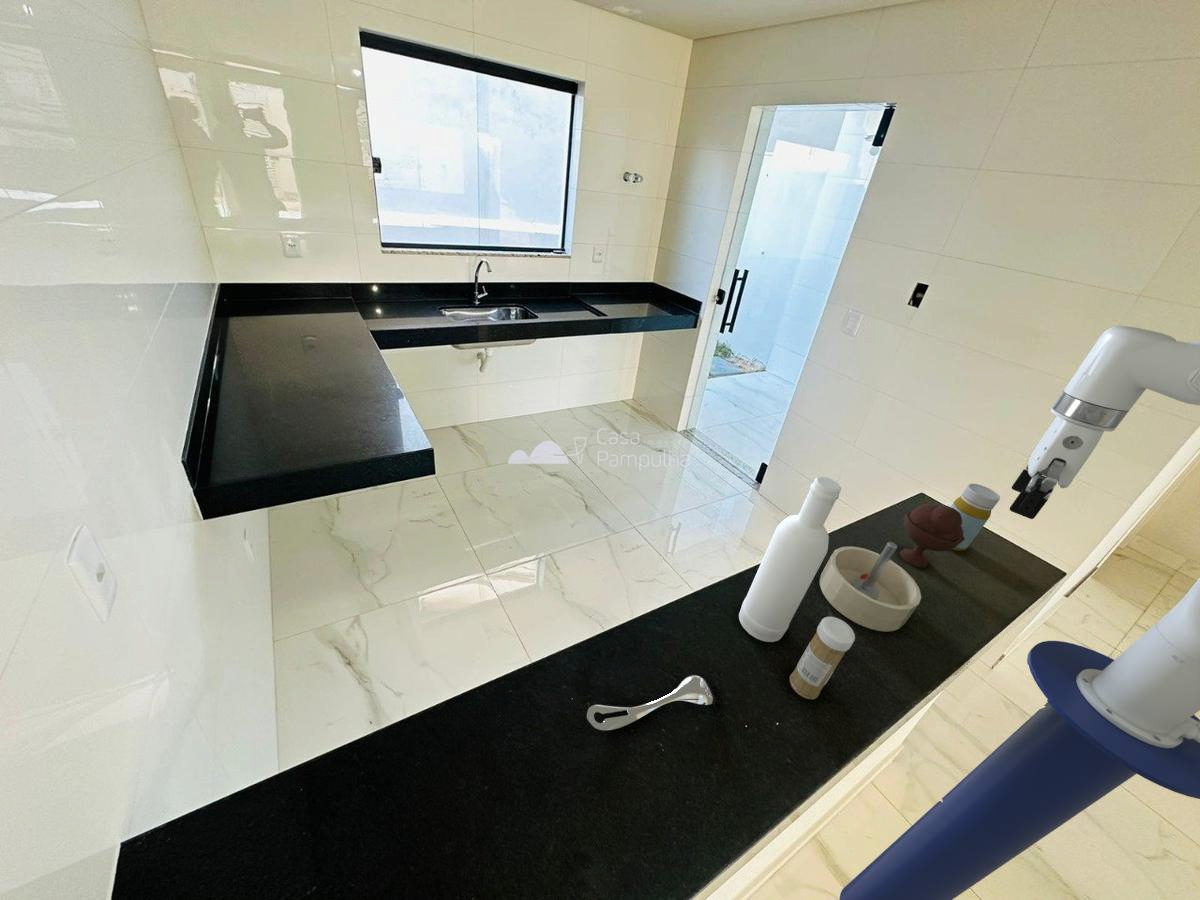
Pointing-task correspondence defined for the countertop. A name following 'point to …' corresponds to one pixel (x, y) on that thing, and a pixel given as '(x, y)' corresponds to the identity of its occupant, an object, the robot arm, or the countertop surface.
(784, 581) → the bottle
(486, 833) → the countertop surface
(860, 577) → the bead
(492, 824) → the countertop surface
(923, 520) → the ice cream bowl
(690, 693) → the ice cream scoop
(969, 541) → the bottle
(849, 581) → the mixing bowl
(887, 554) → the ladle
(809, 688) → the sprinkles bottle
